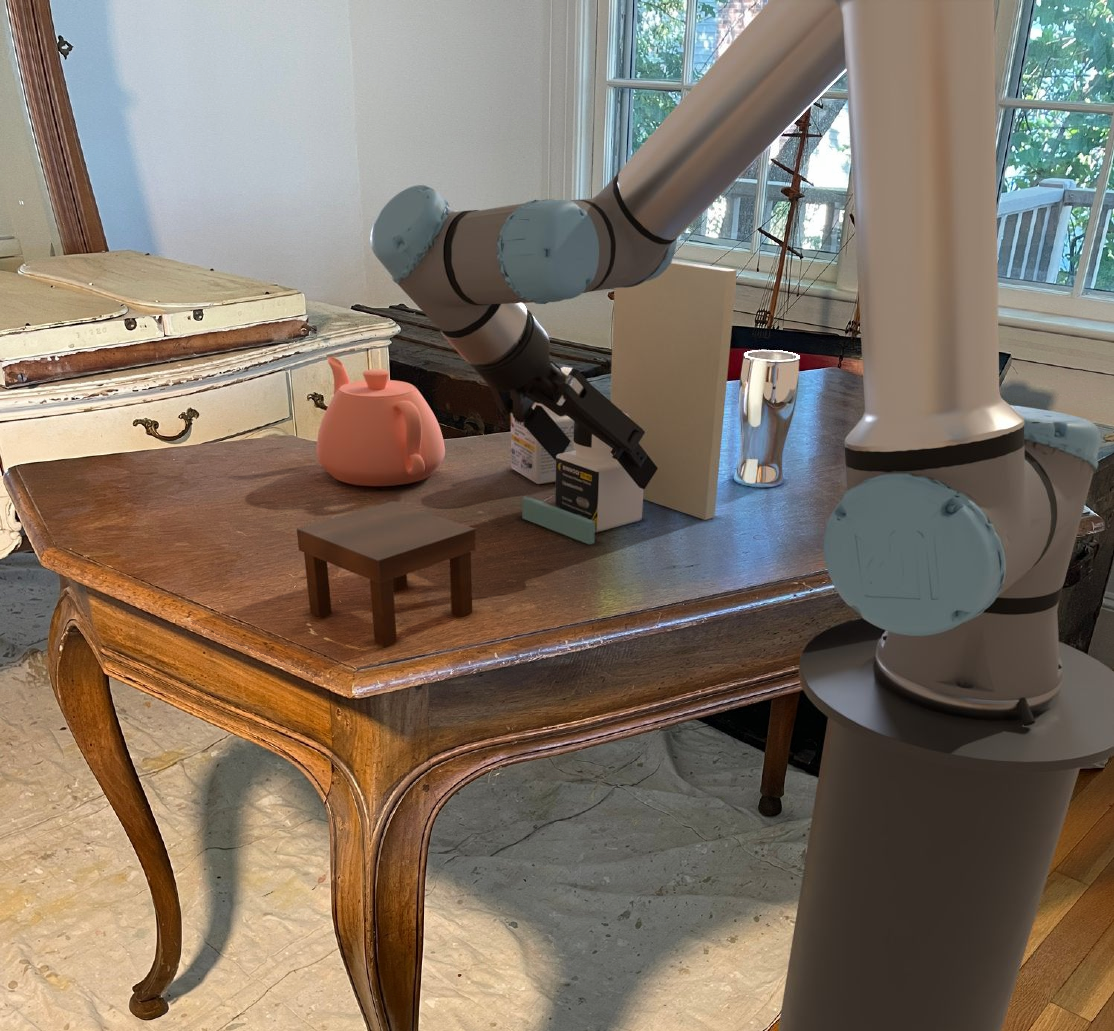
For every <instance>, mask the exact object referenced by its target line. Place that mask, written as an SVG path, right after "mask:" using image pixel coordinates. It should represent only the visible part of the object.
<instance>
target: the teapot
mask: <svg viewBox="0 0 1114 1031" xmlns="http://www.w3.org/2000/svg"><path fill="white" fill-rule="evenodd" d="M327 363H328V365H329V367H330V369H331V372H332V376H333V397H332V398H331V400H330V402H329V404H328V406H327V408H326V410H325V412H324V415H323V416H322V419H321V422H320V425H319V428H318V431H317V432H318V433H317V438H316V458H317V460H318V462H319V464H320V465H321V466H322V467H323V468H324V469H325V471H327V473H328V474H330V476H332V477H333V478H334V479H335V480H338V481H339V482H343V483H346V484H350V485H355V486H364V487H390V486H391V487H392V486H400V485H407V484H412V483H413V484H414V483H416V482H420V481H423V480H425V479H427V478H429V477H431V476H432V475H433V474H434V473H435V471H436V470H437V469H438V468H439V467H440V465H441V463H442V462H443V460H444V458H445V456H446V455H445V454H446V447H445V441H444V437H443V434H442V430H441V426H440V424H439V422H438V419H437V418H436V416H435V413H434V412H433V410H432V409H431V407H430V405H429V403H428V402H427V401H426V399H425V398H424V396H423V395H422V393H421V392H420V391H419V389H418V388H417V386H416V385H413V384H411V383H409V382H406V381H401V380H396V379H395V380H394V379H393V380H392V379H389V378H390V371H389V370H386V369H382V368H373V369H367V370H364V371H363V372H362V376H363V378H364V380H357V381H352V382H351V380H350V377H349V374H348V372H347V369H346V367H345V365H344V364H343V362H341V360H339V359H338V358H337V357H333V356H328V357H327Z"/></svg>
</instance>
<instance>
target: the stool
mask: <svg viewBox="0 0 1114 1031" xmlns="http://www.w3.org/2000/svg"><path fill="white" fill-rule="evenodd" d="M296 535H297V536H296V538H297V545H298V551H299V552H302V553H303V556H304V566H305V575H306V585H307V595H308V604H309V614H311V615H312V616H315V617H317V618H319V619H320V618H323V617H325V616H329V615H331V614H333V613H332V612H333V611H332V602H331V589H330V580H329V569H328V563H329V564H330V565H334V566H336V567H338V568H341V569H343V570H346V571H348V572H351V573H353V574H355V575H357V576H359V577H363V578H366V579H368V580H369V585H370V586H369V587H370V600H371V614H372V627H373V639H374V641H373V642H374V643H375V644H377V645H378V646H381V647H383V648H387V647H390V646H392V645H395V644H397V643H398V640H397V638H398V637H397V622H396V606H395V605H396V604H395V592H394V590H395V591H398V590H401V589H404V588H408V574H412V573H414V572H417V571H419V570H423V569H426V568H428V567H431V566H435V565H438V564H440V563H442V562H443V563H444V562H447V561H449V575H450V576H449V580H450V582H449V583H450V611H451V614H453V615H456V616H458V617H460V618H462V617H463V618H464V617H465V616H468V615H470V614H473V582H472V581H473V578H472V577H473V576H472V575H473V574H472V552H475V551H476V550H477V544H476V542H477V541H476V540H477V538H476V528H474V527H471V526H468V525H466V524H462V523H460V522H457V521H454V520H450V519H447V518H445V517H441V516H438V515H436V514H434V513H430V512H427V511H424V510H421V509H418V508H415V507H412V506H410V505H406V504H404V503H400V502H397V501H394V500H393V501H388V502H385V503H381V504H378V505H374V506H371V507H367V508H365V509H361V510H357V511H354V512H350V513H347V514H344V515H339V516H336V517H333V518H329V519H327V520H322V521H319V522H315V523H312V524H309V525H305V526H302V527H297V528H296Z"/></svg>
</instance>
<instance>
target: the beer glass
mask: <svg viewBox="0 0 1114 1031" xmlns="http://www.w3.org/2000/svg"><path fill="white" fill-rule="evenodd" d="M800 359H801V357H800V355H798V354H796V353H793V352H788V351H783V350H769V349H768V350H767V349H761V350H760V349H759V350H750V351H747V352H744V353H743V359H742V363H741V364H742V365H741V370H740V374H739V375H740V376H739V382H738V383H739V385H738V392H737V419H738V432H739V453H738V459H737V462H736V467H735V470H734V474H733V481H734V482H735V483H737V484H739V485H742V486H746V487H750V488H761V489H762V488H774V487H777V486H780V485H782V484H783V483H784V469H783V456H784V455H783V454H784V450H785V449H784V448H785V444H786V441H787V437H788V434H789V431H790V427H791V423H792V420H793V416H794V413H795V409H796V403H797V399H798V390H799V374H800Z"/></svg>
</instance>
